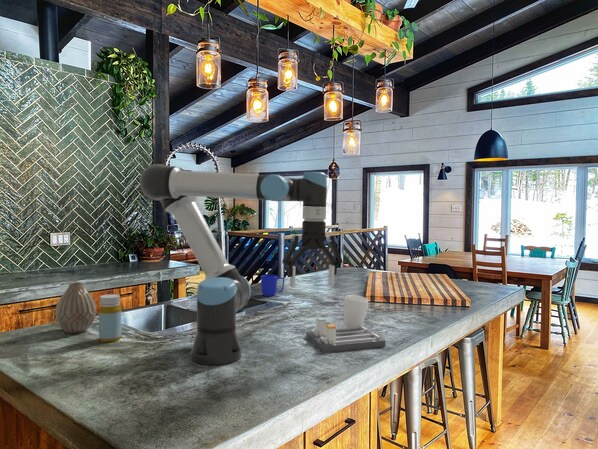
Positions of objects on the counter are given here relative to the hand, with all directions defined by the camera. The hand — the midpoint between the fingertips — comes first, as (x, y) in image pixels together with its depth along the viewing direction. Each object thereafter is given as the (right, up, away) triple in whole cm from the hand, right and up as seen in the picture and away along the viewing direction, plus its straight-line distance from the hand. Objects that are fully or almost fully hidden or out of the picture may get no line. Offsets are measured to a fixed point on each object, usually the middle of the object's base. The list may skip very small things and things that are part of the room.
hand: (312, 285), depth 144 cm
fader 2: (+6, -18, +2) cm, 19 cm away
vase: (-85, -19, +17) cm, 89 cm away
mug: (-18, -17, +83) cm, 87 cm away
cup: (+16, -20, +22) cm, 33 cm away
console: (+11, -20, +8) cm, 25 cm away
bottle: (-69, -20, +8) cm, 72 cm away
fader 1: (+3, -18, +10) cm, 21 cm away
